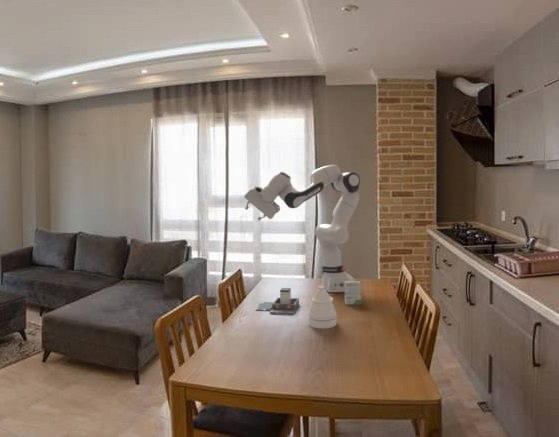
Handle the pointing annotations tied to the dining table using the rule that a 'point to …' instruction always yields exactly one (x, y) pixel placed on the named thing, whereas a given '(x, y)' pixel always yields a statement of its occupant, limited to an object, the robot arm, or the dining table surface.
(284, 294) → the block
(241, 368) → the dining table surface
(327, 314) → the honey pot
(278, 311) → the equipment case
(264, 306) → the mat
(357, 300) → the ink box
